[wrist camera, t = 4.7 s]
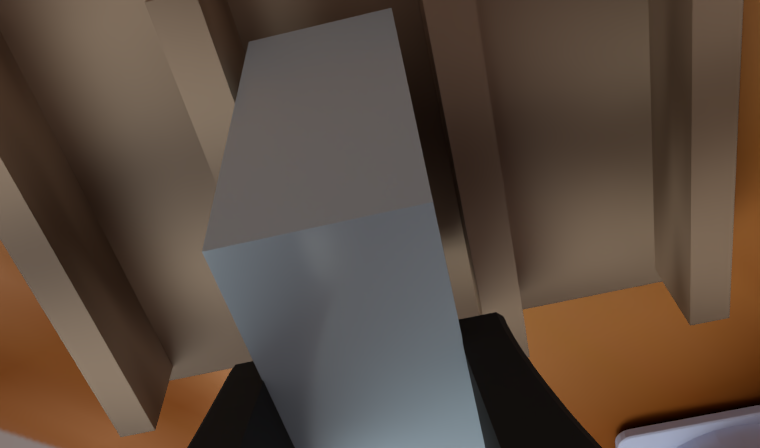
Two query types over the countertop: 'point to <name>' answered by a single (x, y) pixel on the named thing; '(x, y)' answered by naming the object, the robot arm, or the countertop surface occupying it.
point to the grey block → (339, 245)
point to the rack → (439, 146)
